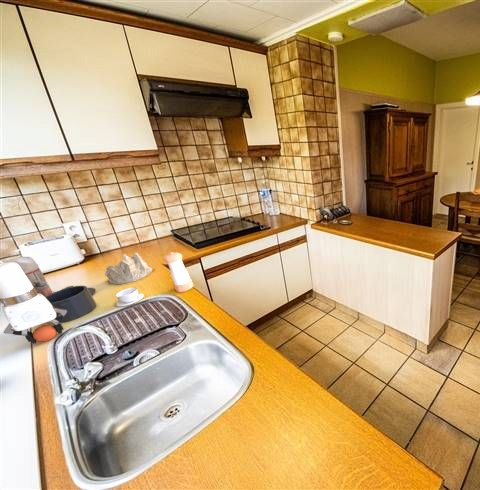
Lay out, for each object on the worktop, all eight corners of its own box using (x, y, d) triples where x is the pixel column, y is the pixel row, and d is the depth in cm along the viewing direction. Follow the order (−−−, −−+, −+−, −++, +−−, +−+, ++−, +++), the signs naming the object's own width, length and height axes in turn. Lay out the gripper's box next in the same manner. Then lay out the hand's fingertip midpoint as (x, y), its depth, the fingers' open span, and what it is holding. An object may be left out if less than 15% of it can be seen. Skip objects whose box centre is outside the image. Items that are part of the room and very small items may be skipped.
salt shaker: (189, 282, 134) (176, 248, 126) (196, 286, 130) (183, 251, 122) (173, 289, 128) (158, 253, 121) (180, 293, 124) (165, 257, 117)
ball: (37, 347, 96) (27, 334, 93) (38, 339, 100) (29, 327, 97) (60, 338, 100) (52, 325, 97) (61, 331, 104) (53, 318, 101)
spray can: (34, 293, 132) (11, 257, 124) (56, 288, 135) (35, 253, 127) (23, 301, 125) (-3, 264, 117) (47, 296, 128) (23, 260, 120)
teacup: (145, 300, 120) (140, 291, 119) (116, 310, 115) (111, 301, 113) (143, 291, 128) (139, 283, 126) (116, 300, 122) (112, 292, 120)
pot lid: (52, 311, 116) (44, 300, 114) (53, 299, 126) (46, 288, 123) (97, 296, 126) (91, 285, 123) (95, 286, 135) (89, 276, 133)
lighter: (38, 299, 126) (26, 281, 122) (48, 295, 129) (36, 278, 125) (49, 302, 124) (37, 283, 120) (58, 298, 127) (47, 280, 123)
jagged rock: (157, 268, 150) (144, 244, 143) (131, 285, 135) (116, 259, 128) (134, 270, 152) (120, 246, 145) (105, 286, 137) (89, 261, 131)
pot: (51, 330, 104) (38, 311, 100) (53, 311, 116) (41, 293, 113) (97, 313, 113) (87, 295, 109) (95, 297, 125) (85, 280, 121)
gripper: (-23, 313, 84) (10, 355, 91) (55, 289, 95) (80, 329, 102) (-18, 304, 89) (13, 345, 96) (56, 282, 100) (80, 321, 107)
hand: (47, 336), depth 99 cm, fingers closed on ball, 5 cm apart
